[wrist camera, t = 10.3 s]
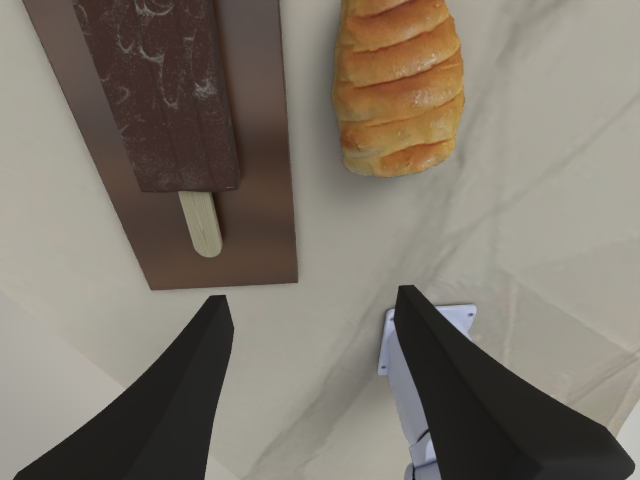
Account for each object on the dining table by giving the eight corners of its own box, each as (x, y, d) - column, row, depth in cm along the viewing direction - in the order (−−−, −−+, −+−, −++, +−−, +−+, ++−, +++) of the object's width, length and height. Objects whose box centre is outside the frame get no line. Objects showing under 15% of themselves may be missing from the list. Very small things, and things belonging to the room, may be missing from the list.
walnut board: (298, 276, 23) (298, 283, 22) (154, 283, 23) (150, 290, 22) (267, -174, 11) (266, -188, 10) (-44, -181, 10) (-67, -197, 10)
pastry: (305, -18, 13) (309, -38, 10) (453, -62, 13) (504, -97, 10) (343, 172, 19) (353, 198, 15) (449, 145, 18) (482, 166, 15)
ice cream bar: (252, 246, 20) (205, -54, 12) (249, 261, 19) (193, -66, 11) (174, 249, 20) (71, -56, 12) (165, 264, 19) (42, -68, 10)
